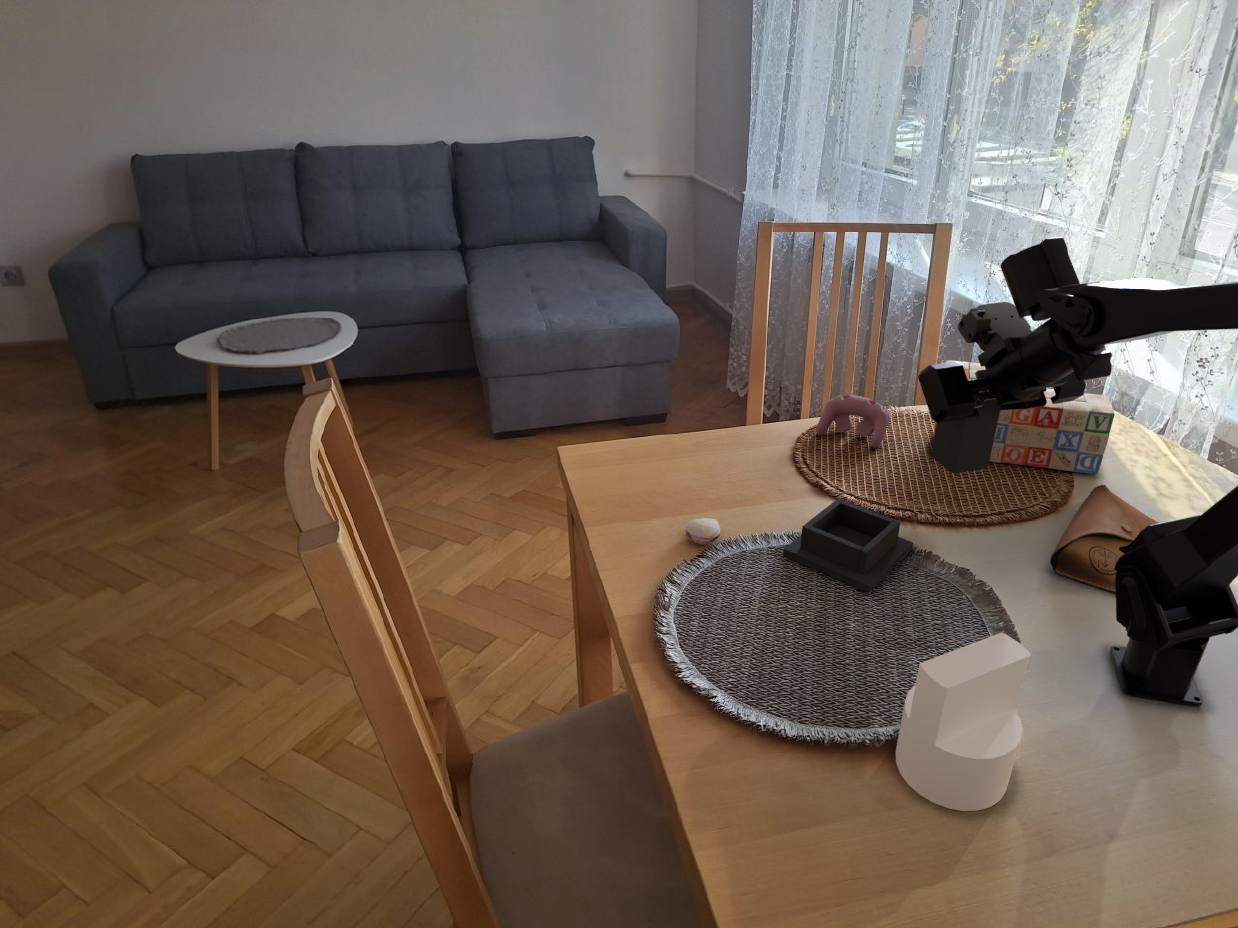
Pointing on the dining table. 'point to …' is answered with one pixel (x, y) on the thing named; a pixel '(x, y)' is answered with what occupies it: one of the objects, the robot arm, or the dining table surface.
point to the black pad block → (967, 440)
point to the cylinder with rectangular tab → (964, 724)
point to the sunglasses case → (1098, 539)
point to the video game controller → (857, 406)
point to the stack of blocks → (1052, 432)
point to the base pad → (850, 544)
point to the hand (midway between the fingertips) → (961, 409)
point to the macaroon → (703, 530)
